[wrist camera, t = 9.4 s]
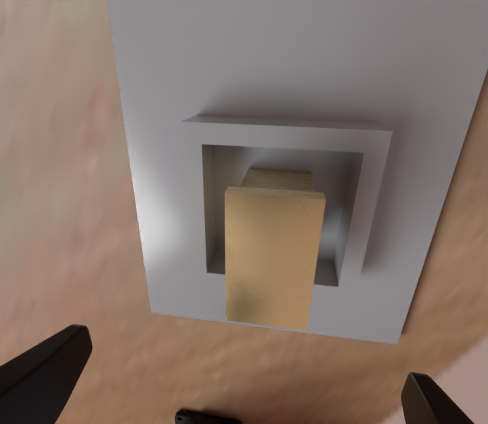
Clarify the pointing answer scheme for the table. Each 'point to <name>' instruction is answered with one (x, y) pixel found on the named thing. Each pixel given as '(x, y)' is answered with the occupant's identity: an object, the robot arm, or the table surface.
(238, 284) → the wooden lipped block
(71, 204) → the table surface
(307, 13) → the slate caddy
